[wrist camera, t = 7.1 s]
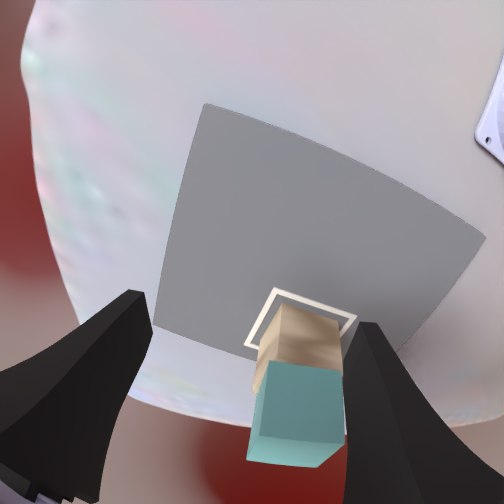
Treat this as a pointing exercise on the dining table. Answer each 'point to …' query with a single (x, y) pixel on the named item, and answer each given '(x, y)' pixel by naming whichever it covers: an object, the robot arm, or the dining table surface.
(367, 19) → the dining table surface
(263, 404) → the teal block
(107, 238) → the dining table surface
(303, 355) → the birch block
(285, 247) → the gray board
